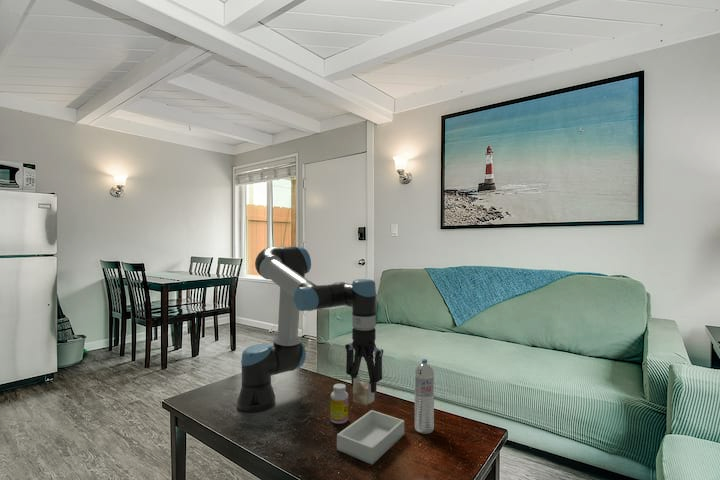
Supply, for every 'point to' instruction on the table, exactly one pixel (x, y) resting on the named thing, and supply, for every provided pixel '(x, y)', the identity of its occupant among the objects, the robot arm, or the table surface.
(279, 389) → the table surface
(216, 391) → the table surface
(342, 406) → the supplement bottle
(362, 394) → the maple cube
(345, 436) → the tote
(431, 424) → the water bottle
